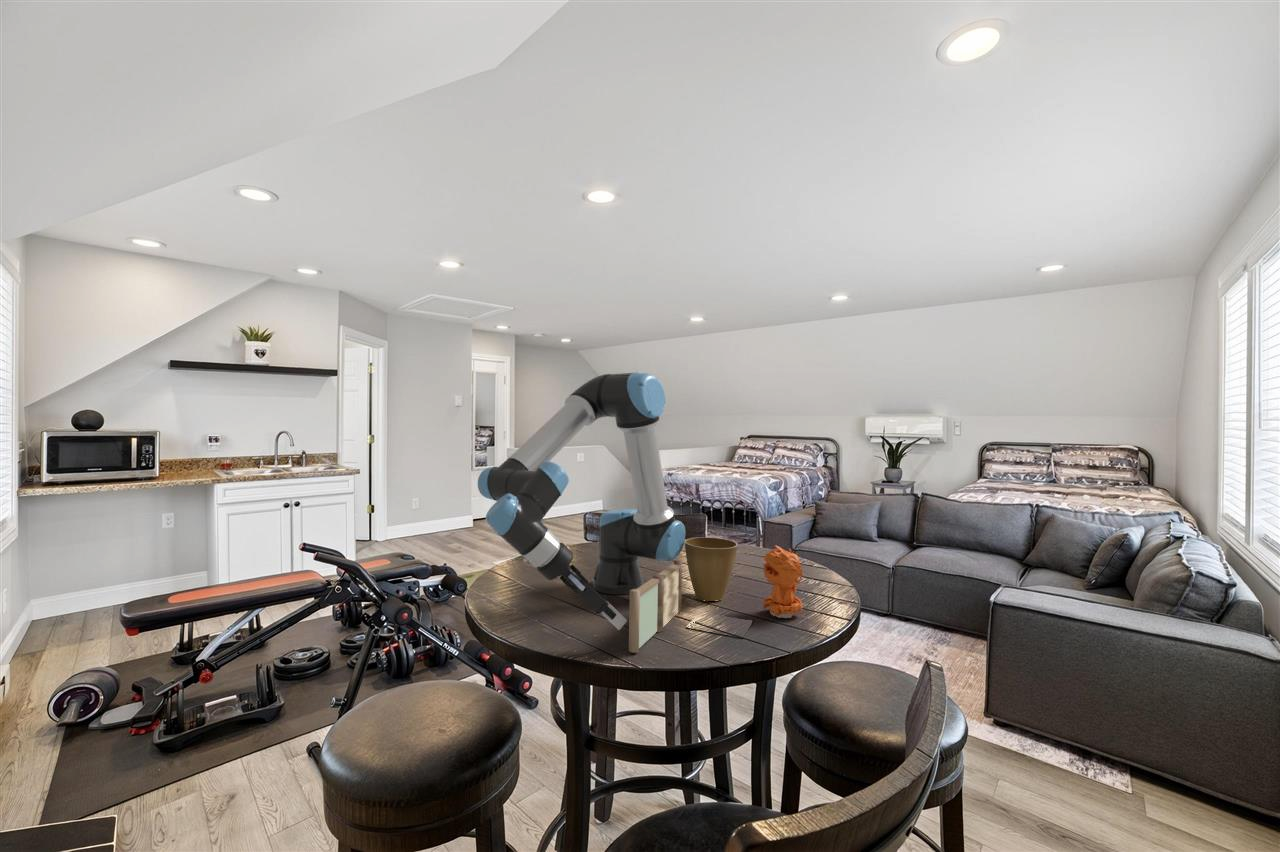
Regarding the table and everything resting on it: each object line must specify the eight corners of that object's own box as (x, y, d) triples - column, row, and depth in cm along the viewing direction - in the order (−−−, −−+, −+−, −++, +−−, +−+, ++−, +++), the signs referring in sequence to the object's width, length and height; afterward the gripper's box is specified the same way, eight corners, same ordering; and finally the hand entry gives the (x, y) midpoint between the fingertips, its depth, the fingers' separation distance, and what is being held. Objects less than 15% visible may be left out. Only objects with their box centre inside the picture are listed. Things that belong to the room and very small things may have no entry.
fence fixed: (673, 610, 144) (674, 559, 144) (683, 611, 143) (684, 560, 143) (650, 631, 129) (651, 575, 129) (660, 633, 128) (661, 576, 128)
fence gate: (650, 630, 128) (651, 575, 128) (659, 631, 128) (660, 576, 127) (627, 651, 116) (628, 591, 116) (636, 653, 116) (637, 592, 115)
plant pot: (721, 611, 144) (722, 550, 143) (673, 599, 152) (674, 542, 152) (745, 596, 156) (746, 541, 156) (700, 586, 164) (700, 534, 164)
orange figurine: (771, 604, 150) (772, 539, 149) (809, 613, 143) (811, 545, 142) (752, 615, 141) (753, 546, 141) (792, 625, 134) (793, 553, 134)
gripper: (530, 560, 119) (601, 626, 125) (541, 577, 107) (620, 649, 113) (554, 535, 121) (623, 601, 127) (568, 548, 109) (644, 621, 115)
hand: (622, 624), depth 120 cm, fingers closed
